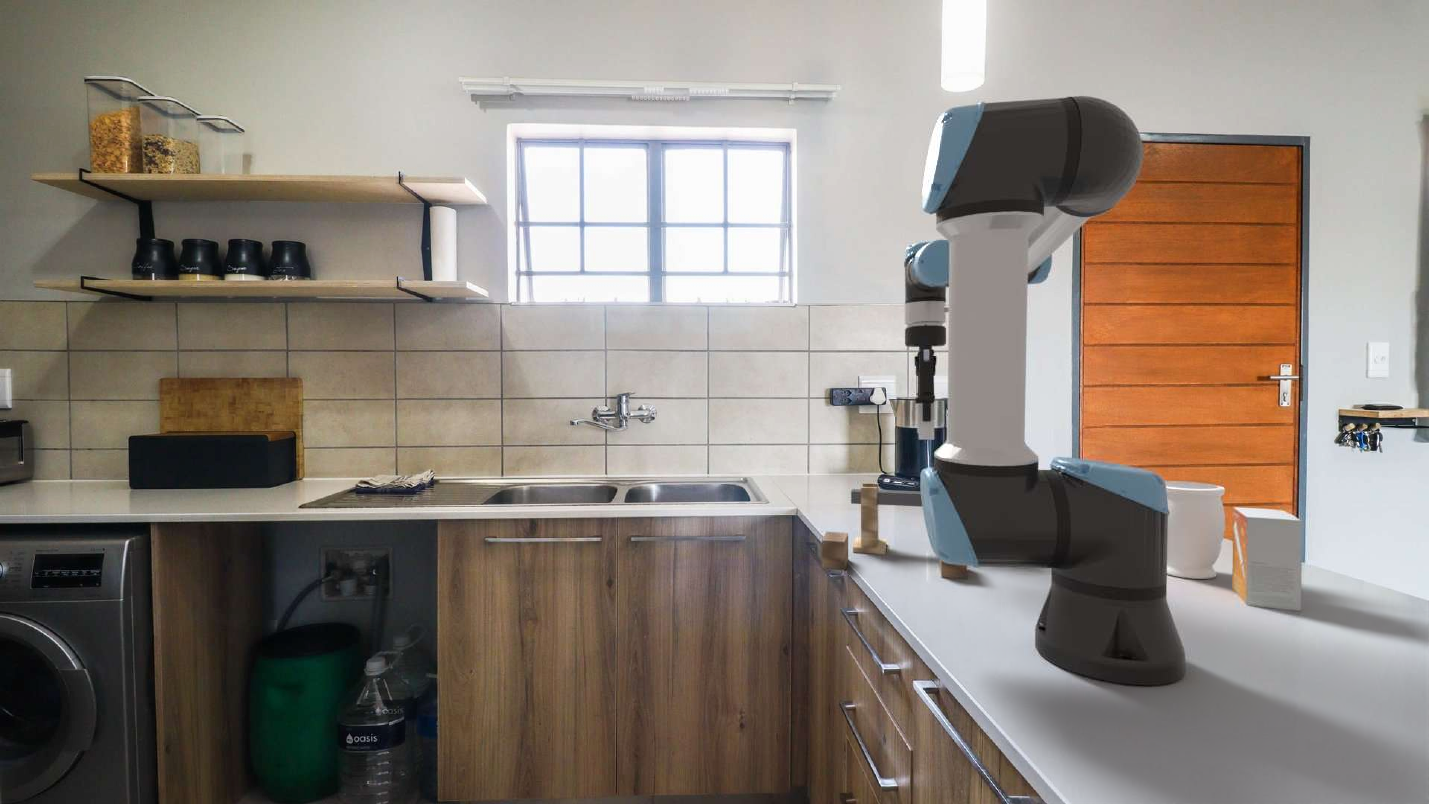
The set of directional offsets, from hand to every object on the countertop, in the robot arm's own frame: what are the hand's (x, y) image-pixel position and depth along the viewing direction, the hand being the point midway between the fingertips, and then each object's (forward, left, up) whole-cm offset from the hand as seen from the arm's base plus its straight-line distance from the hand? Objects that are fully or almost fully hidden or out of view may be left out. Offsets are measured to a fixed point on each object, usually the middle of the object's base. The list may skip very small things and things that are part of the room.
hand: (925, 436), depth 124 cm
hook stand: (0, 0, -22) cm, 22 cm away
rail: (0, 0, -13) cm, 13 cm away
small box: (+22, -45, -23) cm, 55 cm away
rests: (-14, -5, -22) cm, 27 cm away
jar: (+27, -32, -23) cm, 48 cm away
